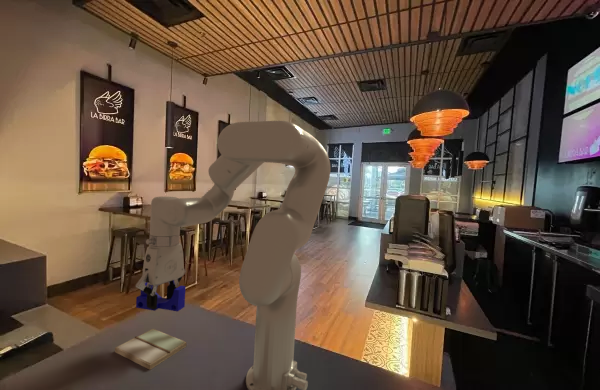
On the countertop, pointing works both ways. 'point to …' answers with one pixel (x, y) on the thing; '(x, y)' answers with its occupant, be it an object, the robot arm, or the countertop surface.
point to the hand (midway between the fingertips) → (161, 303)
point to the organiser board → (150, 348)
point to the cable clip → (164, 300)
